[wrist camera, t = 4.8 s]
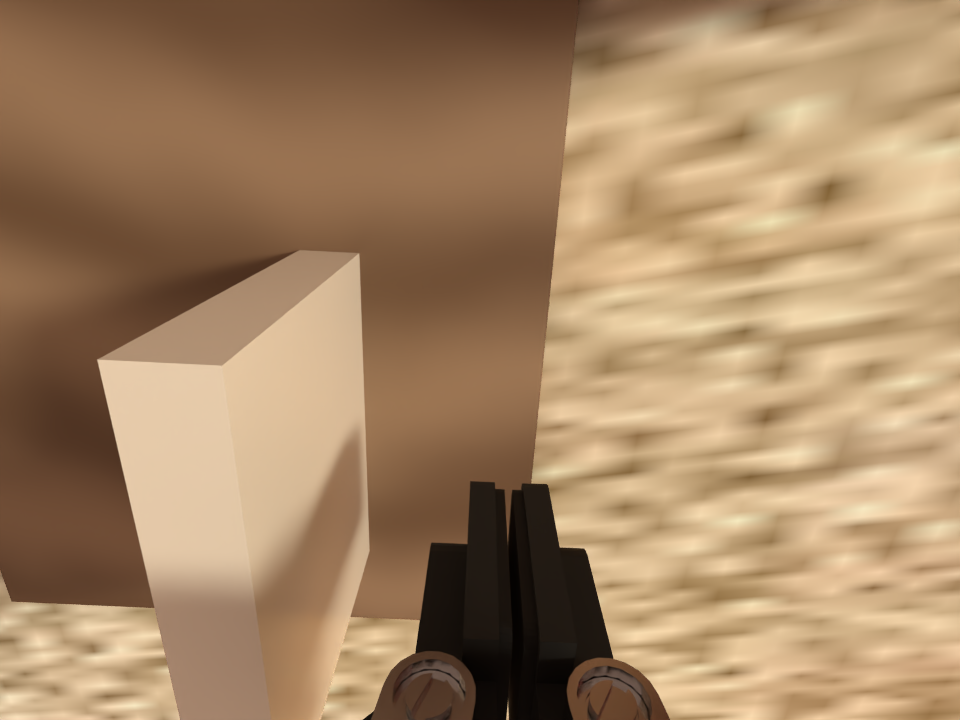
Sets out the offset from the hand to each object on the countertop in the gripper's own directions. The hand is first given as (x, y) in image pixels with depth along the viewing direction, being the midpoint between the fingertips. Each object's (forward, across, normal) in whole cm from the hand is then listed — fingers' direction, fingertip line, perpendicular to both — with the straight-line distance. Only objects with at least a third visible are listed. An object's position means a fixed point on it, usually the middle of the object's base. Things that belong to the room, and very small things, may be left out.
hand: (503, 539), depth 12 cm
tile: (+5, +5, 0) cm, 7 cm away
